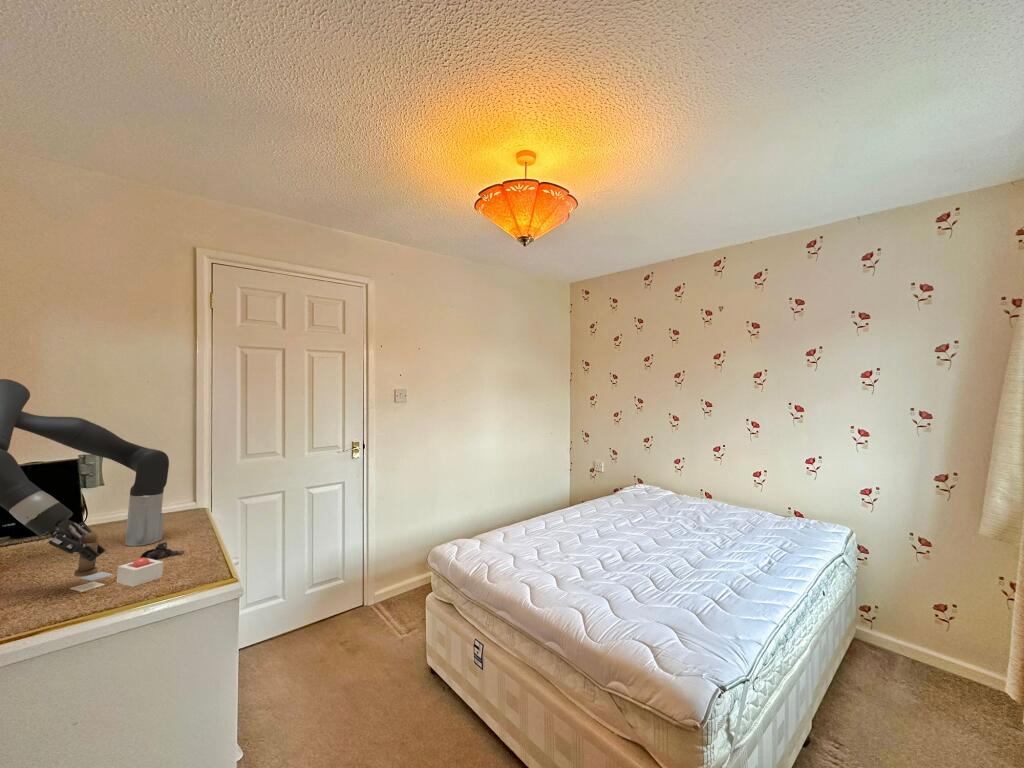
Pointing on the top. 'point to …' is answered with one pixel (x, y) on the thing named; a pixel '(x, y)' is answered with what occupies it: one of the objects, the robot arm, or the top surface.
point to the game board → (91, 584)
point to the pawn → (84, 564)
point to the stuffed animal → (161, 552)
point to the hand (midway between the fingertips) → (98, 555)
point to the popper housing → (139, 573)
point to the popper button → (141, 562)
